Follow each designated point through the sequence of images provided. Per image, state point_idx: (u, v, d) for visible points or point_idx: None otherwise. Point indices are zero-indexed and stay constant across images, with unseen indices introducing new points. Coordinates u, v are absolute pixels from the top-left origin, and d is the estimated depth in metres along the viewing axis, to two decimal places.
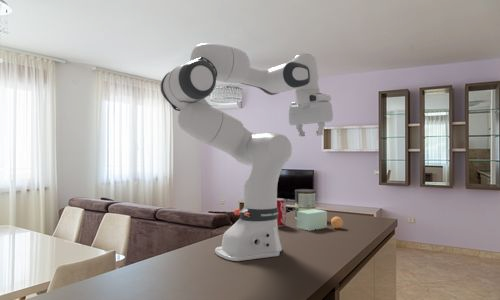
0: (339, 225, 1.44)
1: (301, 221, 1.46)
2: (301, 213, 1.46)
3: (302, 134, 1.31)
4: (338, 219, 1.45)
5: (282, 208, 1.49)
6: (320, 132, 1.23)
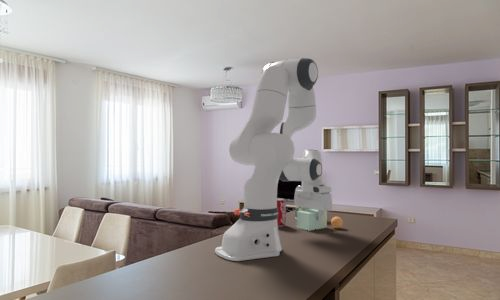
0: (339, 225, 1.44)
1: (301, 221, 1.46)
2: (301, 213, 1.46)
3: None
4: (338, 219, 1.45)
5: (282, 208, 1.49)
6: (320, 218, 1.44)
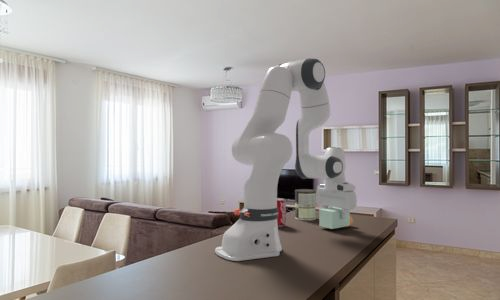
0: (351, 219, 1.49)
1: (324, 219, 1.44)
2: (324, 211, 1.44)
3: None
4: None
5: (282, 208, 1.49)
6: (343, 216, 1.42)
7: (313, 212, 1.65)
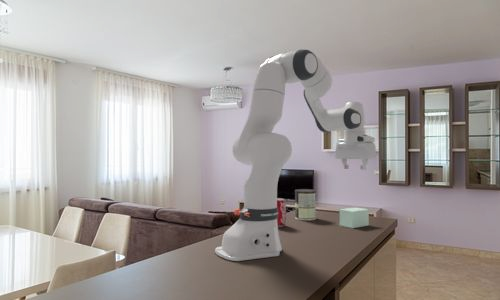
0: None
1: (344, 219, 1.50)
2: (344, 211, 1.50)
3: (346, 167, 1.56)
4: None
5: (282, 208, 1.49)
6: (364, 167, 1.49)
7: (313, 212, 1.65)
